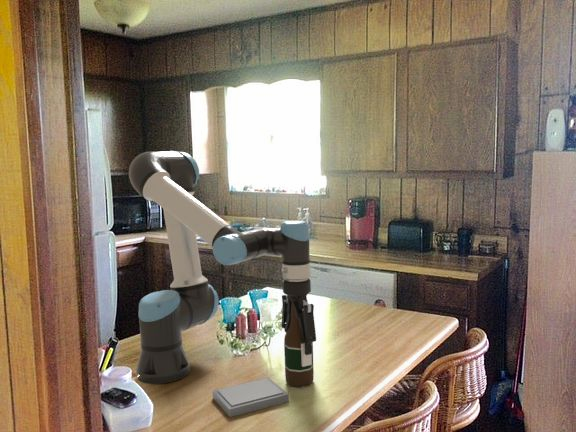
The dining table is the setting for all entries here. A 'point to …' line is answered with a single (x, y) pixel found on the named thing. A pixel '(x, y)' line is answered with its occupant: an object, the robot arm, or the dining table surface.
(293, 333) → the beer bottle
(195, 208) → the robot arm
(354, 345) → the dining table surface
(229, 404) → the slate stand
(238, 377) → the dining table surface
